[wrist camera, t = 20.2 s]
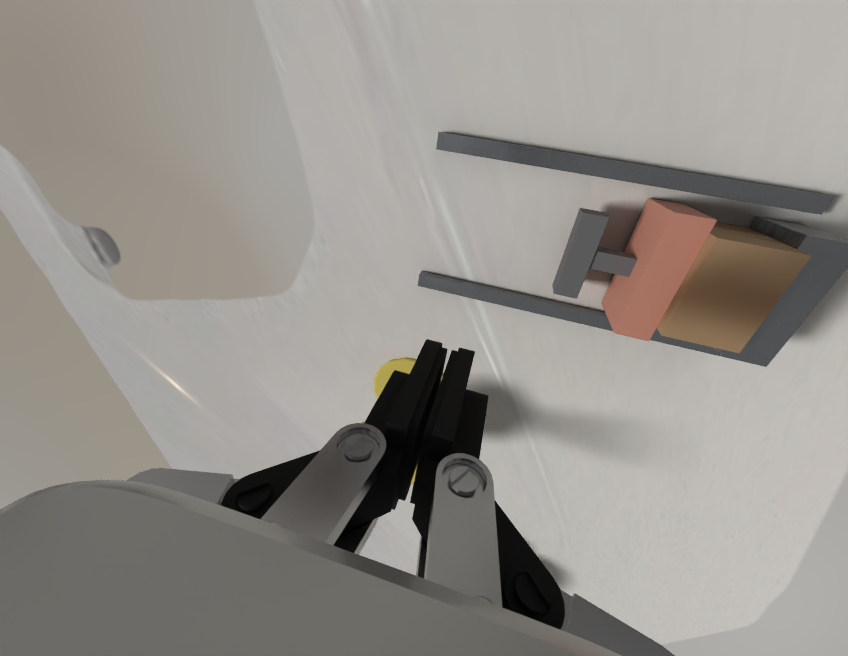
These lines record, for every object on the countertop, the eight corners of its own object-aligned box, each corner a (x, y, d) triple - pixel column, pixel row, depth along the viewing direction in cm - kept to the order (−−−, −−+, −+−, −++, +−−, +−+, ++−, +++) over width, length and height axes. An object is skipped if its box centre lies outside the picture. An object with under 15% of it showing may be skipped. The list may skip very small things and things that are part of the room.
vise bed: (441, 131, 28) (424, 132, 23) (823, 194, 24) (894, 209, 19) (420, 281, 35) (404, 305, 30) (715, 349, 31) (748, 388, 26)
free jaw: (583, 186, 27) (594, 197, 22) (683, 204, 26) (717, 220, 21) (546, 290, 32) (549, 318, 27) (630, 309, 31) (648, 341, 26)
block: (676, 214, 27) (717, 238, 21) (747, 227, 26) (811, 255, 20) (635, 295, 30) (661, 335, 25) (697, 309, 30) (739, 353, 24)
